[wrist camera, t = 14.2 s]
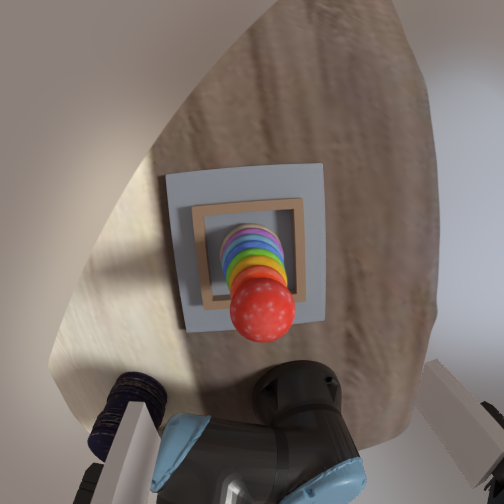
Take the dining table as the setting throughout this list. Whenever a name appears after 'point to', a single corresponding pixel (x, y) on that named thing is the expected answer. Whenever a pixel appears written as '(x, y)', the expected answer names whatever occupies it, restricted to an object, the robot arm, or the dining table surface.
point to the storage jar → (122, 392)
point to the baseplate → (244, 212)
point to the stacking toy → (257, 283)
